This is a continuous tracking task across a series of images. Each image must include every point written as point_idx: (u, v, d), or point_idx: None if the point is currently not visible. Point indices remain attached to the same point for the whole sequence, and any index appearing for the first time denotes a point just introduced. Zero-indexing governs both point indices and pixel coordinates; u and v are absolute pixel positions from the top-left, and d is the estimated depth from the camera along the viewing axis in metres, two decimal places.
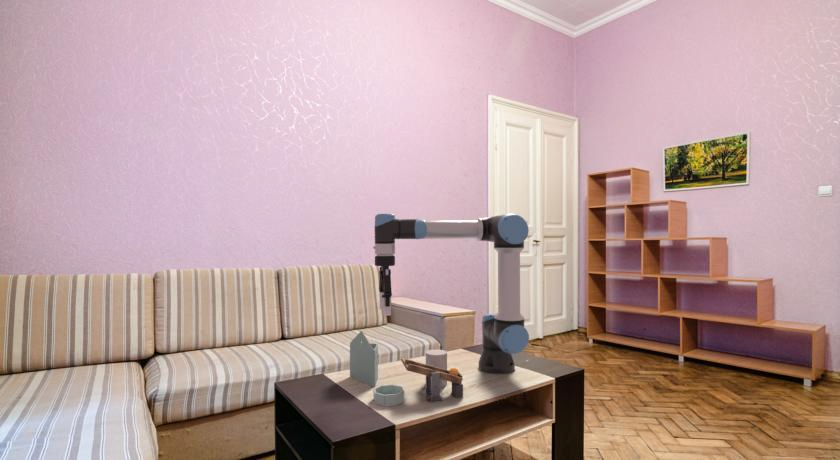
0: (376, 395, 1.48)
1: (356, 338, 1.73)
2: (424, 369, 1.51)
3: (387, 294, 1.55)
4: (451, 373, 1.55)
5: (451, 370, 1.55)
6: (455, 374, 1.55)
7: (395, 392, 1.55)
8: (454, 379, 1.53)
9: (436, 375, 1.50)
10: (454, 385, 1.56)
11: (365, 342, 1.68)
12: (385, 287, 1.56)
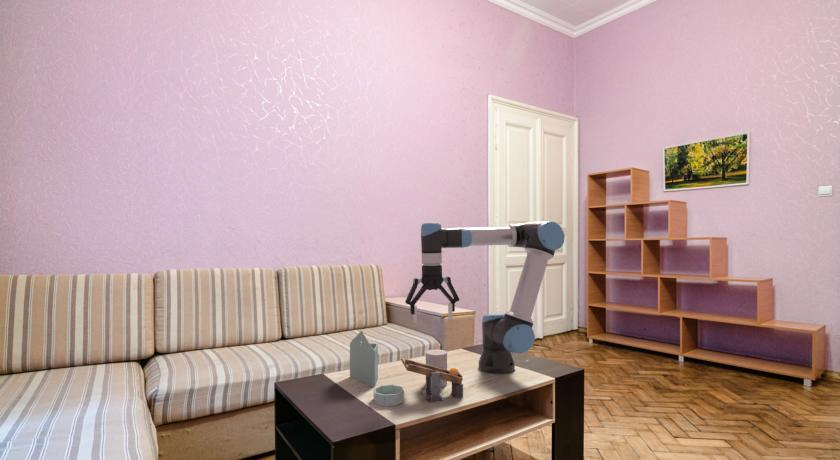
0: (376, 395, 1.48)
1: (356, 338, 1.73)
2: (424, 369, 1.51)
3: (405, 302, 1.61)
4: (451, 373, 1.55)
5: (451, 370, 1.55)
6: (455, 374, 1.55)
7: (395, 392, 1.55)
8: (454, 379, 1.53)
9: (436, 375, 1.50)
10: (454, 385, 1.56)
11: (365, 342, 1.68)
12: (408, 295, 1.62)
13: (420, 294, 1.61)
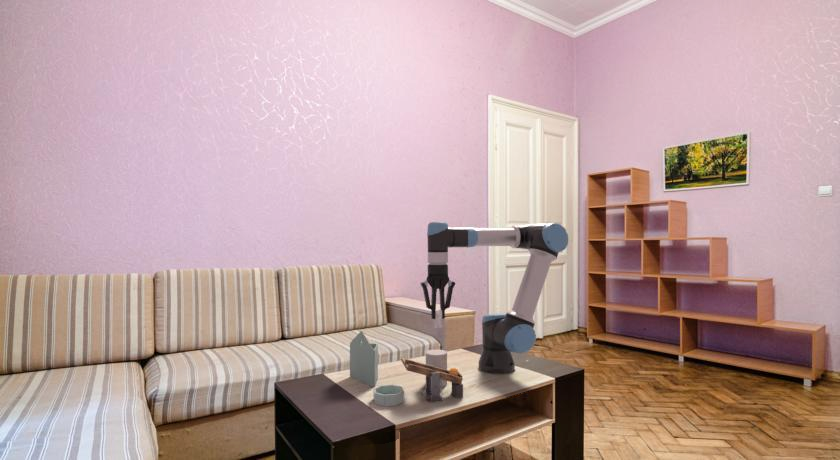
0: (376, 395, 1.48)
1: (356, 338, 1.73)
2: (424, 369, 1.51)
3: (427, 306, 1.63)
4: (451, 373, 1.55)
5: (451, 370, 1.55)
6: (455, 374, 1.55)
7: (395, 392, 1.55)
8: (454, 379, 1.53)
9: (436, 375, 1.50)
10: (454, 385, 1.56)
11: (365, 342, 1.68)
12: (425, 300, 1.63)
13: (434, 296, 1.62)
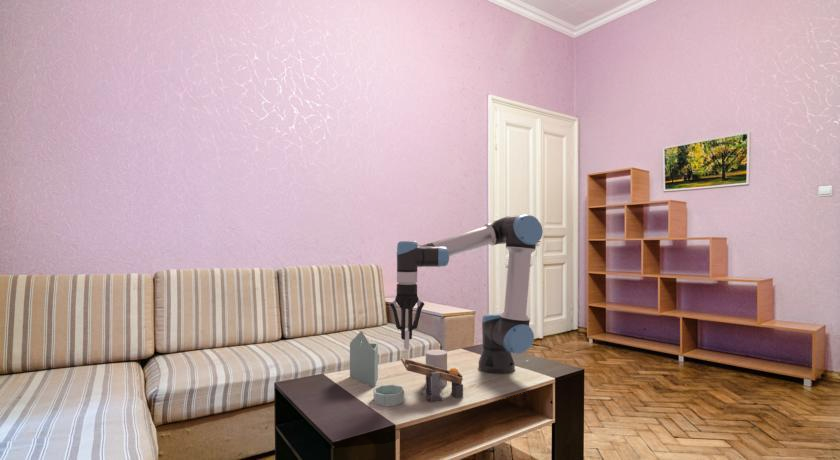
0: (376, 395, 1.48)
1: (356, 338, 1.73)
2: (424, 369, 1.51)
3: (396, 326, 1.60)
4: (451, 373, 1.55)
5: (451, 370, 1.55)
6: (455, 374, 1.55)
7: (395, 392, 1.55)
8: (454, 379, 1.53)
9: (436, 375, 1.50)
10: (454, 385, 1.56)
11: (365, 342, 1.68)
12: None
13: (403, 316, 1.59)
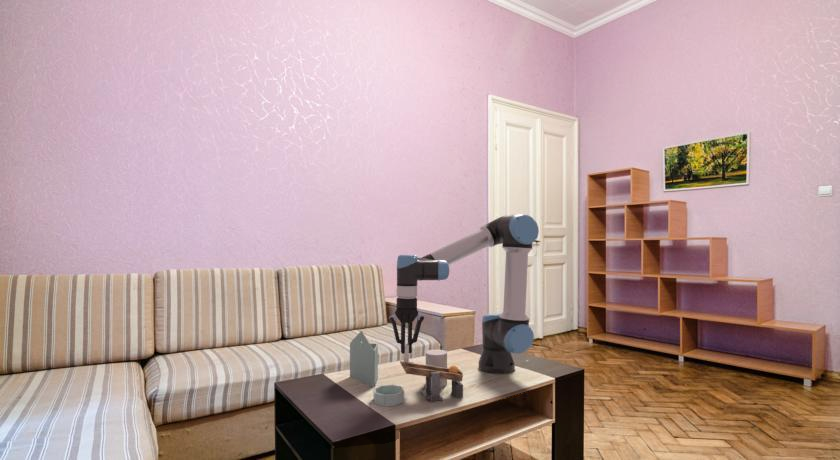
0: (376, 395, 1.48)
1: (356, 338, 1.73)
2: (423, 370, 1.51)
3: None
4: (451, 371, 1.55)
5: (451, 368, 1.55)
6: (455, 372, 1.55)
7: (395, 392, 1.55)
8: (454, 377, 1.53)
9: (436, 375, 1.50)
10: (454, 385, 1.56)
11: (365, 342, 1.69)
12: None
13: (403, 330, 1.59)
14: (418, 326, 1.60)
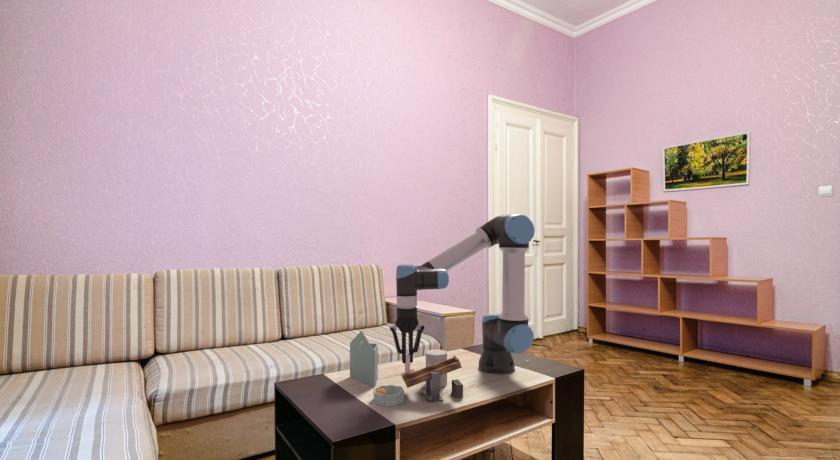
0: (376, 395, 1.48)
1: (356, 338, 1.73)
2: (422, 376, 1.51)
3: (397, 350, 1.60)
4: None
5: None
6: None
7: (395, 392, 1.55)
8: (453, 367, 1.53)
9: (436, 375, 1.50)
10: (454, 385, 1.56)
11: (365, 342, 1.68)
12: (395, 344, 1.61)
13: (404, 340, 1.59)
14: (419, 336, 1.60)
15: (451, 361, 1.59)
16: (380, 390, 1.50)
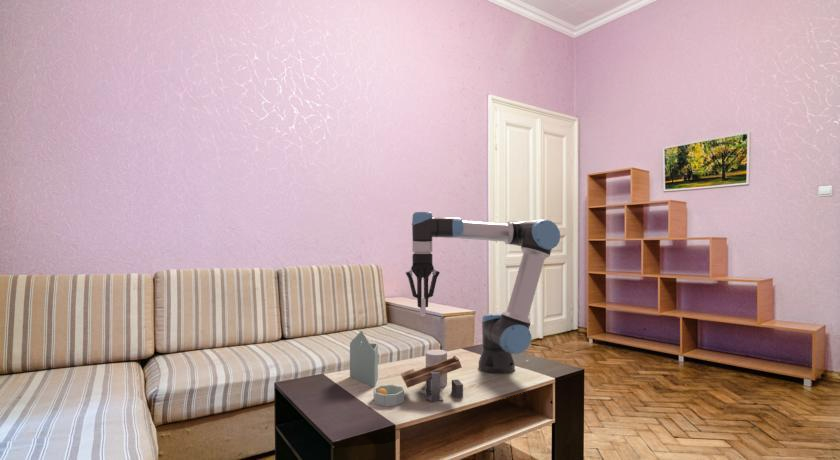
0: (376, 395, 1.48)
1: (356, 338, 1.73)
2: (422, 376, 1.51)
3: (413, 295, 1.65)
4: None
5: None
6: None
7: (395, 392, 1.55)
8: (453, 367, 1.53)
9: (436, 375, 1.50)
10: (454, 385, 1.56)
11: (365, 342, 1.68)
12: (411, 289, 1.66)
13: (419, 285, 1.64)
14: (434, 281, 1.65)
15: (451, 361, 1.59)
16: (382, 390, 1.50)
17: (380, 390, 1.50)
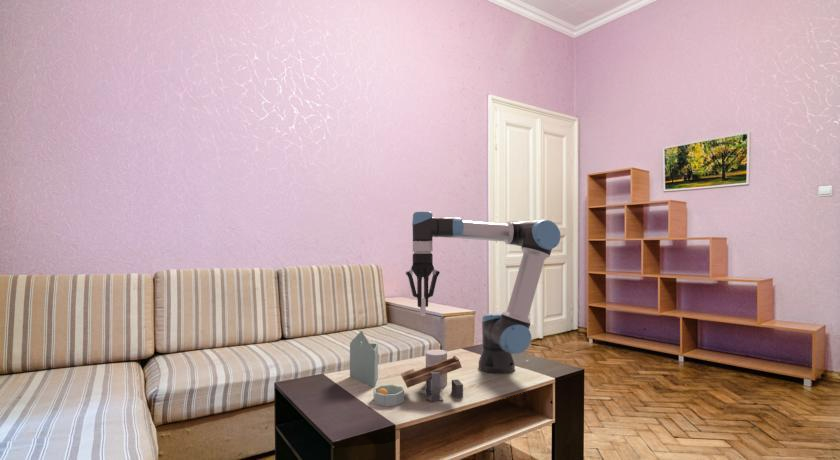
0: (376, 395, 1.48)
1: (356, 338, 1.73)
2: (422, 376, 1.51)
3: (413, 294, 1.65)
4: None
5: None
6: None
7: (395, 392, 1.55)
8: (453, 367, 1.53)
9: (436, 375, 1.50)
10: (454, 385, 1.56)
11: (365, 342, 1.69)
12: (411, 289, 1.66)
13: (420, 285, 1.64)
14: (434, 280, 1.65)
15: (451, 361, 1.59)
16: (383, 390, 1.50)
17: (381, 390, 1.50)
